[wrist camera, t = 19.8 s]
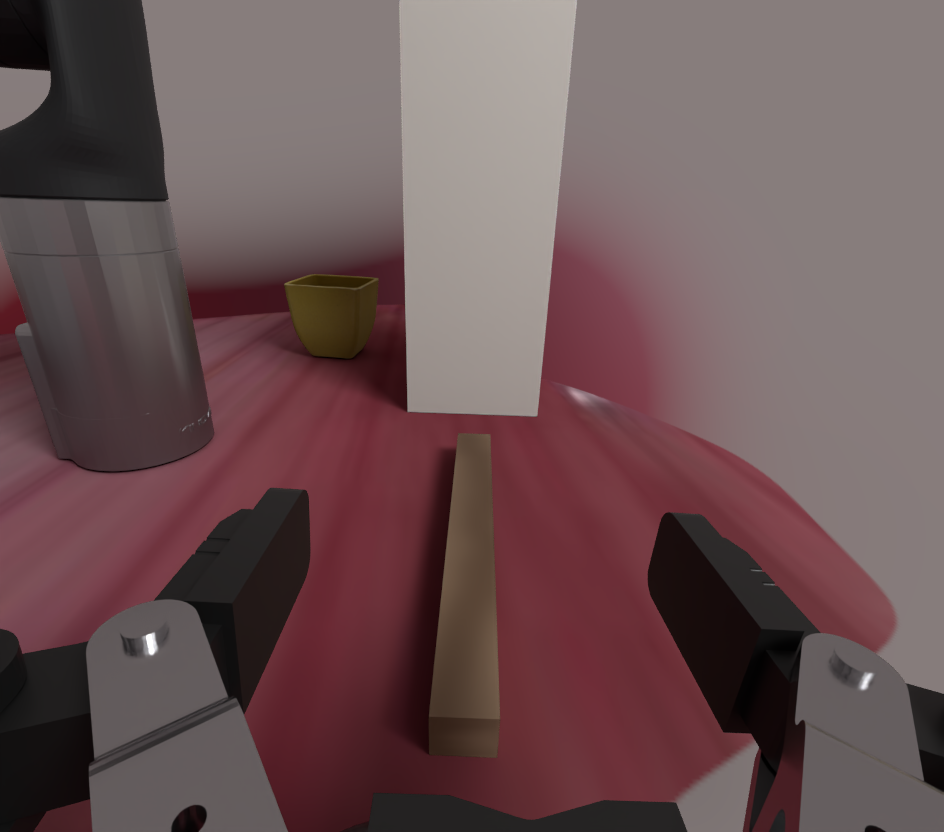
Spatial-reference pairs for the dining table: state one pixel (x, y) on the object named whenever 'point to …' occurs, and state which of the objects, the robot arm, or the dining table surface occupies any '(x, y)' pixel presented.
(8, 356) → the dining table surface
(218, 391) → the dining table surface
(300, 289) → the flower pot
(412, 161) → the off-white column
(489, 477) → the walnut bar
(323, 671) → the dining table surface
